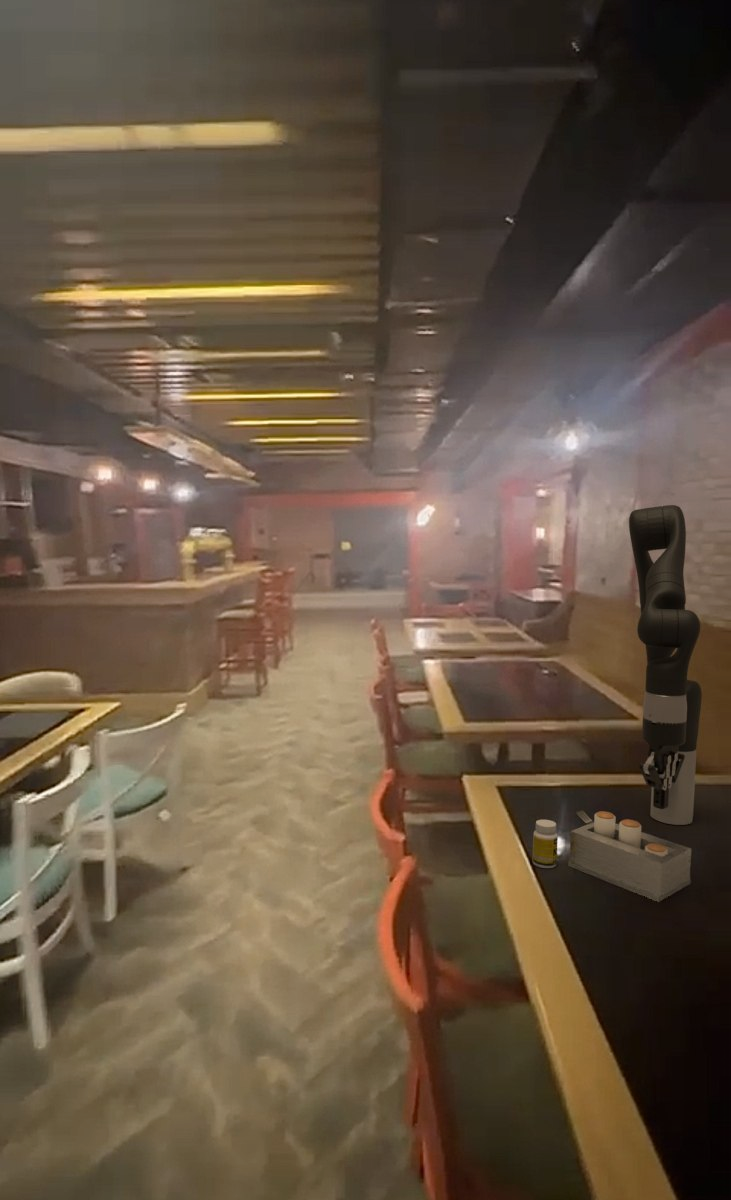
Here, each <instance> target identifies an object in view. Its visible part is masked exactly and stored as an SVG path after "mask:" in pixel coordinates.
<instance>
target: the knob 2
mask: <svg viewBox="0 0 731 1200" xmlns="http://www.w3.org/2000/svg"><path fill="white" fill-rule="evenodd" d="M618 824H619V842H622V843H625V844H628V845H631V846H633V847H636V848H639V849H640V844H641V832H642V824H640V822H638V821H637V820H635V819H622V820H621V821H620V822H618Z"/></svg>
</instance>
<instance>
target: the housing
mask: <svg viewBox="0 0 731 1200" xmlns="http://www.w3.org/2000/svg"><path fill="white" fill-rule="evenodd" d="M651 843H655V844H660V845H663V846H664V847H665V848H666V849H667V850H668V854H667V855H665V856H663V857H662V856H659V855H656V854H653V853H650V852H648V851H645V846H646V845H648V844H651ZM569 847H570V848H569V849H570V850H569V860H568V862H567V863H568V864H567V866H568V867H570V868H573V869H574V870H577V871H580V872H582V873H585V874H587V875H589V876H592V877H595V878H596V879H599V880H602V881H604V882H607V883H610V884H612V885H614V886H616V887H620V888H622V889H624V890H626V891H629V892H632V893H634V894H636V893H637V895H639V896H641V895H642V896H641V897H644V896H645V897H644V898H646V897H647V899H650V900H651V899H652V901H654V902H656V901H657V902H656V903H660V902H662V901H663V900H666V899H667V898H668V896H669V897H670V896H672V895H674V894H675V893H677V892H679V891H681V890H682V889H684V888H686V887H688V886H689V885H691V883H692V878H691V861H692V860H691V859H692V848H691V847H688V846H685V845H682V844H679V843H677V842H673V841H670V840H667V839H664V838H661V837H657V836H655V835H652V834H649V833H646V832H642V831H641V844H640V849H639V848H636V847H633V846H631V845H628V844H625V843H622V842H619V823H616V822H615V840H614V839H611V838H608V837H605V836H602V835H599V834H596V833H594V821H592V822H589V823H587V824H586V825H582V826H580V827H578V828H576V829H573V830H571V831H570V846H569Z"/></svg>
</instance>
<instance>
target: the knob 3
mask: <svg viewBox="0 0 731 1200" xmlns="http://www.w3.org/2000/svg"><path fill="white" fill-rule="evenodd" d="M645 851H648V852H650V853H653V854H656V855H659V856H662V857H663V856H665V855H667V854H668V850H667V849H666V848H665V847H664V846H663V845H660V844H655V843H651V844H648V845H646V846H645Z"/></svg>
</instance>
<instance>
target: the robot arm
mask: <svg viewBox="0 0 731 1200" xmlns="http://www.w3.org/2000/svg"><path fill="white" fill-rule="evenodd" d="M628 519H629V520H628V529H629V530H628V531H629V537H630V543H631V548H632V553H633V560H634V563H635V569H636V570H635V571H636V574H637V575H636V577H637V582H638V592H639V604H640V617H639V619H638V622H637V629H636V631H637V636H638V638H639V640H640V642H642V644H644V645H645V652H646V661H647V662H646V663H647V664H646V668H645V692H644V699H643V706H642V707H643V708H642V723H641V724H642V726H641V727H642V729H641V738H642V740H643V741H645V742H646V743H647V744H648V746H647V747H648V748H647V753H646V757H647V759H646V761H645V763H644V762H640V763H639V766H638V767H639V771H640V773H641V775H642V777H643V779H644V781H645V784H646V787H651V793H650V794H651V796H650V817H651V818H652V819H654V820H655V821H658V822H660V823H664V824H668V825H674V826H685V825H689V824H692V823H693V817H694V807H695V806H694V802H695V788H696V785H695V784H696V780H695V779H696V765H697V762H696V761H697V745H698V738H699V737H698V736H699V727H700V726H699V725H700V716H701V709H702V698H703V695H702V693H703V692H702V687H701V685H700V683H699V682H697V681H695V680H691V679H688V671H689V665H690V661H691V657H692V655H693V652H694V649H695V646H696V644H697V642H698V639H699V637H700V633H701V621H700V619H699V617H698V615H697V614H696V613H695V612H694V611H693V610H690V609H686V602H687V600H686V599H687V597H686V595H687V594H686V588H685V587H686V586H685V580H684V571H685V570H684V568H685V559H686V545H687V544H686V543H687V539H686V538H687V530H686V529H687V528H686V520H685V515H684V512H683V510H682V509H681V507H680V506H679V505H676V504H668V505H659V506H654V507H653V506H652V507H645V508H637V509H634V510H632V511H631V513H630V515H629V518H628ZM657 550H658V551H659V550H660V551H661V550H664V551H663V552H662V554H660V556H659V557H658V558H657V559H656V560H655V561H653V559H652V557H651V554H650V553H649V552H650V551H651V552H652V551H657ZM675 650H676V651H675Z"/></svg>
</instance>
